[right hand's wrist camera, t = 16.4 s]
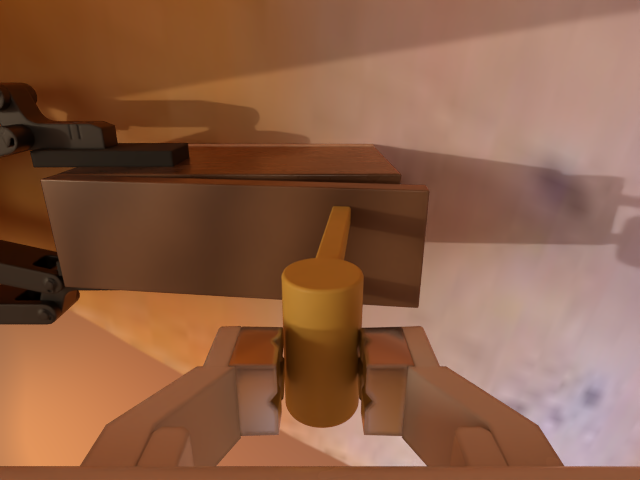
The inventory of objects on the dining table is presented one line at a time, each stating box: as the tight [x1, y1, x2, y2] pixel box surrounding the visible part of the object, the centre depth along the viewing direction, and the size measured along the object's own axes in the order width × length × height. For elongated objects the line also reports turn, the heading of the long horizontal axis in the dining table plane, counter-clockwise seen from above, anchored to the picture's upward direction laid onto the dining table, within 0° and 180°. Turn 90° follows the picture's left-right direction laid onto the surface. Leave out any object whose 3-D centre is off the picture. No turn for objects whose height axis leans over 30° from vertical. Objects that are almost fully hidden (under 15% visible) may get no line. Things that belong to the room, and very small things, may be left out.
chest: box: [57, 144, 401, 184], centre depth 24 cm, size 15×5×10 cm, turn 90°
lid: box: [41, 175, 429, 428], centre depth 14 cm, size 16×5×8 cm, turn 90°
